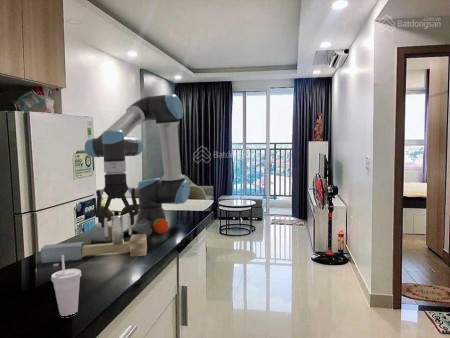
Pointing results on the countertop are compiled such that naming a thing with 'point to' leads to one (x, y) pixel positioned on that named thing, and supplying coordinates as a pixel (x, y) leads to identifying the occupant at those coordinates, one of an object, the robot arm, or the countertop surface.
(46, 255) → the sleeve
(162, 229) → the clementine
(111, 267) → the countertop surface
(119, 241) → the bar with upright post
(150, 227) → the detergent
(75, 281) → the smoothie
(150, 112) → the robot arm
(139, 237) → the socket block
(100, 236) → the ceramic mug
